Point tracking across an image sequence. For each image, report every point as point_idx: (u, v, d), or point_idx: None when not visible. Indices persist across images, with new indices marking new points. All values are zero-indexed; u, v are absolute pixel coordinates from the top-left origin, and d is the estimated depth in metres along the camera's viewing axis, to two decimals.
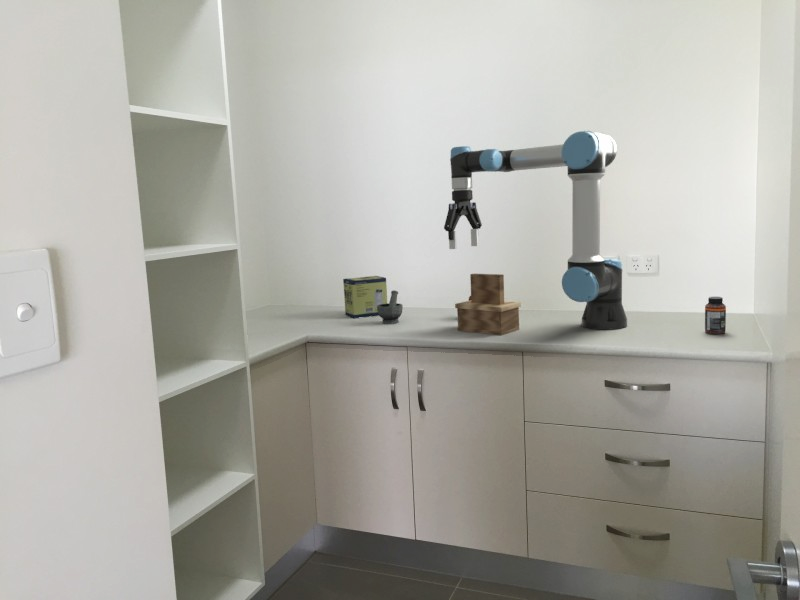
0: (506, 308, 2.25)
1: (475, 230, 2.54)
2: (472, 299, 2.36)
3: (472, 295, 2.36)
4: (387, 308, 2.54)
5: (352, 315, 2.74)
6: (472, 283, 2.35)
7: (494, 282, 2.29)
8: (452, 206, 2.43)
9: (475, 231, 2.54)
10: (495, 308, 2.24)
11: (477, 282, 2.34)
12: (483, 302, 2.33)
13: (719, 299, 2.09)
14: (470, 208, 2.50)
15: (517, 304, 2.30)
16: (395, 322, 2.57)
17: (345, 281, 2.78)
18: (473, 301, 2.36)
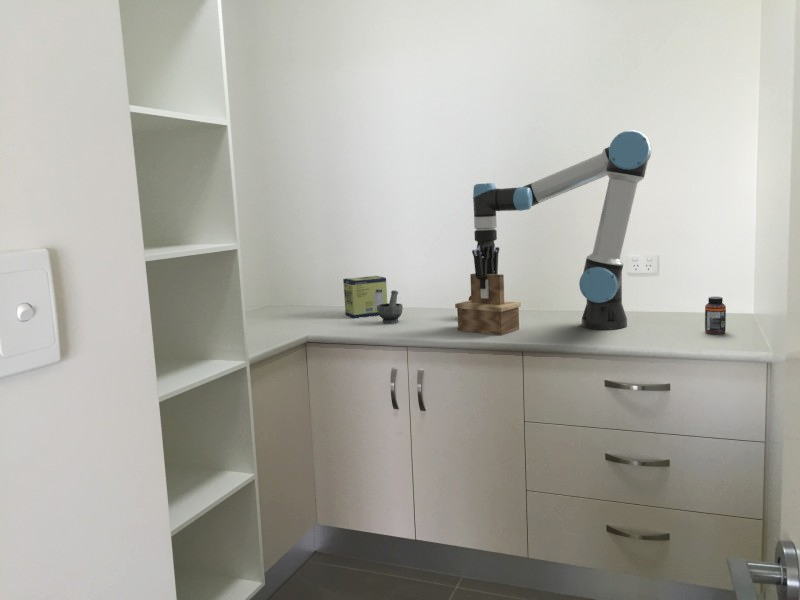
0: (506, 308, 2.25)
1: None
2: (472, 299, 2.36)
3: (472, 295, 2.36)
4: (387, 308, 2.54)
5: (352, 315, 2.74)
6: (472, 283, 2.35)
7: (494, 282, 2.29)
8: (477, 254, 2.26)
9: None
10: (495, 308, 2.24)
11: (477, 282, 2.34)
12: (483, 302, 2.33)
13: (719, 299, 2.09)
14: (493, 251, 2.31)
15: (517, 304, 2.30)
16: (395, 322, 2.57)
17: (345, 281, 2.78)
18: (473, 301, 2.36)
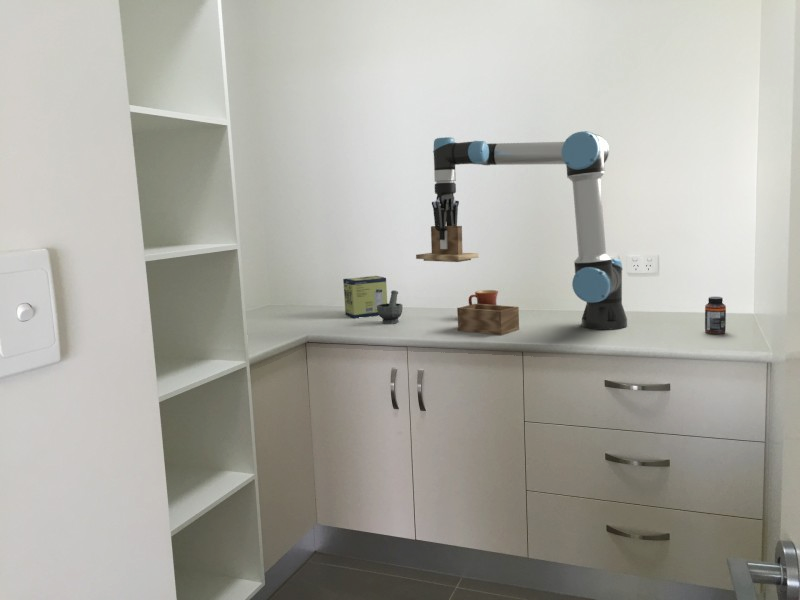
0: (463, 257, 2.35)
1: None
2: (432, 250, 2.46)
3: (432, 246, 2.45)
4: (387, 308, 2.54)
5: (352, 315, 2.74)
6: (432, 235, 2.45)
7: (452, 233, 2.39)
8: (436, 205, 2.36)
9: None
10: (453, 257, 2.34)
11: (437, 234, 2.43)
12: (442, 253, 2.43)
13: (719, 299, 2.09)
14: (452, 203, 2.41)
15: (475, 255, 2.40)
16: (395, 322, 2.57)
17: (345, 281, 2.78)
18: (433, 252, 2.46)
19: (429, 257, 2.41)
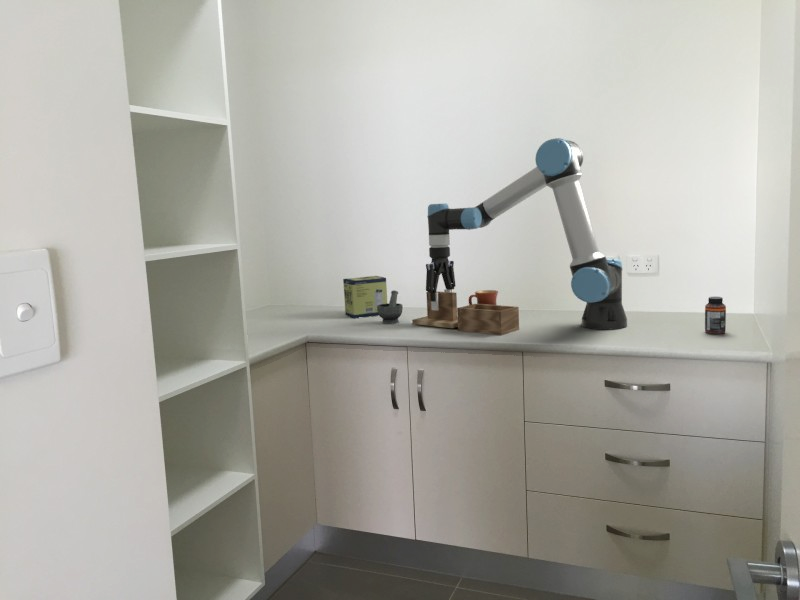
0: None
1: (448, 291, 2.50)
2: (428, 315, 2.52)
3: (428, 311, 2.51)
4: (387, 308, 2.54)
5: (352, 315, 2.74)
6: (428, 300, 2.51)
7: (447, 299, 2.45)
8: (429, 267, 2.41)
9: None
10: (447, 324, 2.40)
11: None
12: (438, 318, 2.49)
13: (719, 299, 2.09)
14: (447, 265, 2.47)
15: None
16: (395, 322, 2.57)
17: (345, 281, 2.78)
18: (429, 317, 2.52)
19: (425, 323, 2.47)
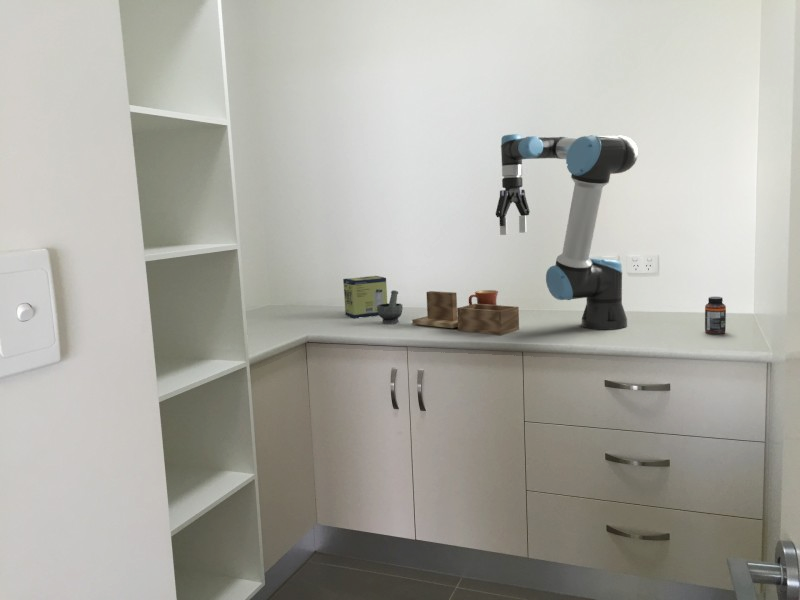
0: None
1: (523, 217, 2.60)
2: (428, 315, 2.52)
3: (428, 311, 2.51)
4: (387, 308, 2.54)
5: (352, 315, 2.74)
6: (428, 300, 2.51)
7: (447, 299, 2.45)
8: (503, 193, 2.49)
9: (523, 218, 2.60)
10: (447, 324, 2.40)
11: (432, 299, 2.49)
12: (438, 318, 2.49)
13: (719, 299, 2.09)
14: (520, 195, 2.55)
15: None
16: (395, 322, 2.57)
17: (345, 281, 2.78)
18: (429, 317, 2.52)
19: (425, 323, 2.47)
